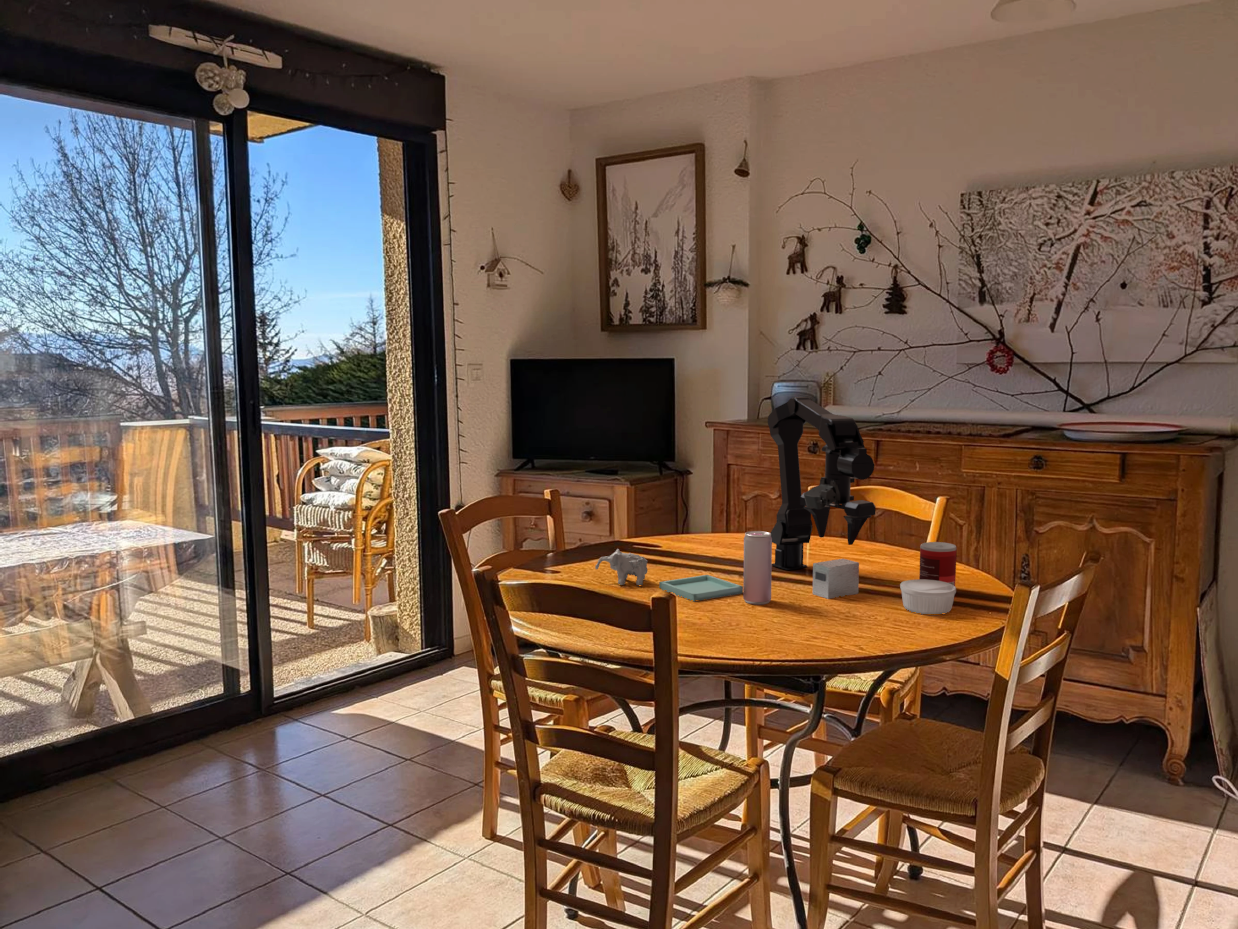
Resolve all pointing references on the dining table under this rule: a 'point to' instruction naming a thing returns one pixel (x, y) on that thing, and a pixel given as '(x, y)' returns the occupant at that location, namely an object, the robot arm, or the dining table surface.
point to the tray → (701, 587)
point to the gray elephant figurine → (626, 566)
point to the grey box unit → (835, 578)
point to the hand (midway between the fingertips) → (835, 540)
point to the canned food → (938, 562)
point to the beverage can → (757, 567)
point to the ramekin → (927, 596)
